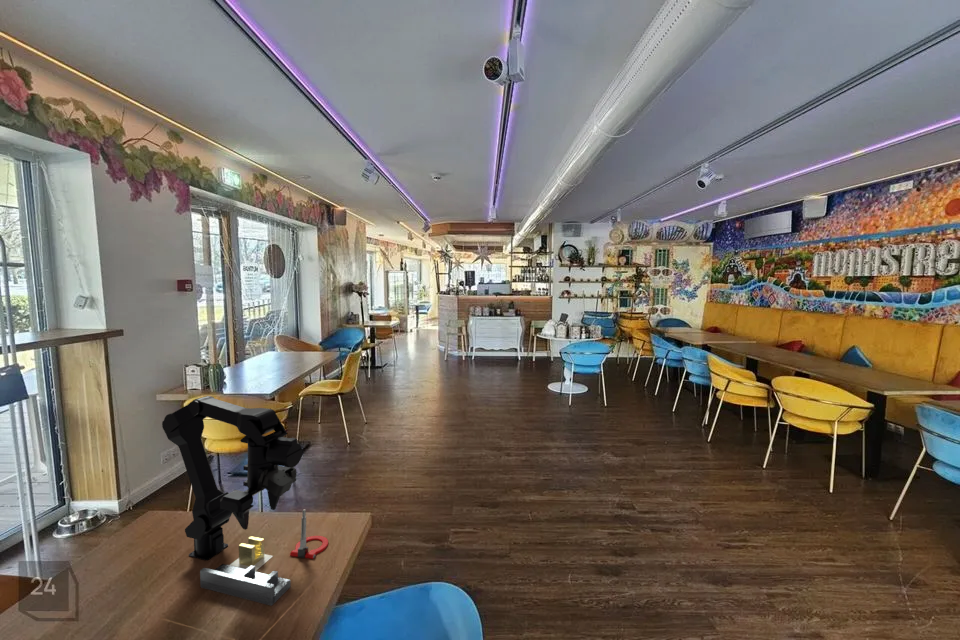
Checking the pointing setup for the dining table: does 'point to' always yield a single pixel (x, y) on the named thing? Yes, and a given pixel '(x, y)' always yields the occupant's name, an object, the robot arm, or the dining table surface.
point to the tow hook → (301, 547)
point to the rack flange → (245, 583)
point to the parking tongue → (257, 565)
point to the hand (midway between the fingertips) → (259, 518)
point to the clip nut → (251, 551)
